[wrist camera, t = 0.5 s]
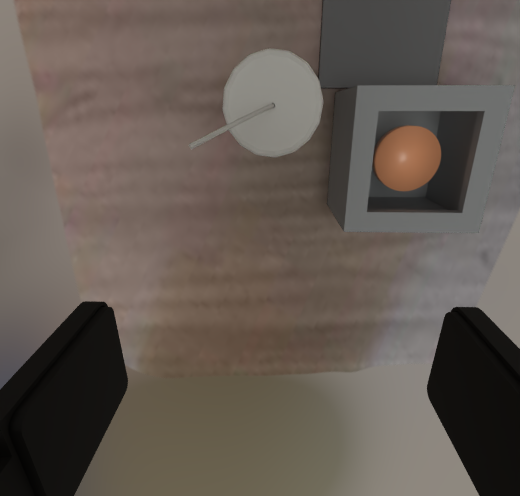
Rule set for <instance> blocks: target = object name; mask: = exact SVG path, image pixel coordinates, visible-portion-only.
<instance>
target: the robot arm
mask: <svg viewBox="0 0 520 496" xmlns="http://www.w3.org/2000/svg"><path fill="white" fill-rule="evenodd" d="M127 384H128V378H127V373H126V369H125V363H124V359H123V354H122V349H121V344H120V339H119V334H118V330H117V325H116V320H115V315H114V311H113V309H112V308H111V307H108V306H107V304H106V303H105V302H82V303H81V304H80V305H79V306H78V307H77V308H76V309H75V310H74V311H73V312H72V313H71V314H70V315H69V316H68V318H67V319H66V320H65V321H64V322H63V323H62V324H61V325H60V326H59V327H58V328H57V329H56V330H55V332H54V333H53V334H52V335H51V336H50V337H49V338H48V339H47V340H46V341H45V342H44V343H43V344H42V345H41V347H40V348H39V349H38V350H37V351H36V352H35V353H34V354H33V355H32V356H31V357H30V358H29V359H28V360H27V361H26V363H25V364H24V365H23V366H22V367H21V368H20V369H19V370H18V371H17V372H16V373H15V374H14V375H13V376H12V378H11V379H10V380H9V381H8V382H7V383H6V384H5V385H4V386H3V387H2V388H1V390H0V496H74V494H75V492H76V491H77V489H78V486H79V485H80V483H81V480H82V478H83V476H84V474H85V473H86V471H87V468H88V466H89V464H90V462H91V460H92V458H93V456H94V454H95V452H96V450H97V448H98V446H99V444H100V442H101V440H102V438H103V436H104V434H105V432H106V430H107V428H108V426H109V424H110V422H111V420H112V418H113V416H114V414H115V412H116V410H117V408H118V406H119V404H120V402H121V400H122V398H123V396H124V394H125V392H126V389H127ZM427 392H428V397H429V399H430V401H431V403H432V405H433V407H434V409H435V411H436V413H437V415H438V417H439V419H440V421H441V423H442V425H443V426H444V428H445V430H446V432H447V434H448V436H449V438H450V440H451V442H452V444H453V445H454V447H455V449H456V451H457V453H458V455H459V457H460V459H461V461H462V463H463V465H464V467H465V469H466V471H467V472H468V475H469V476H470V478H471V480H472V482H473V484H474V486H475V488H476V490H477V492H478V493H479V495H480V496H520V349H519V348H518V347H517V346H516V345H515V344H514V343H513V342H512V341H511V340H510V339H509V338H508V337H507V336H506V335H505V334H504V333H503V332H502V331H501V330H500V329H499V328H498V327H497V326H496V325H495V323H494V322H492V320H491V319H490V318H489V317H488V316H487V315H486V314H485V313H484V312H483V311H482V310H480V309H479V308H476V307H455V308H453V309H452V310H451V312H448V313H446V315H445V317H444V321H443V325H442V329H441V333H440V337H439V341H438V345H437V349H436V353H435V357H434V361H433V365H432V369H431V373H430V376H429V381H428V385H427Z"/></svg>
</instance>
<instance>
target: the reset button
mask: <svg viewBox="0 0 520 496" xmlns="http://www.w3.org/2000/svg"><path fill="white" fill-rule="evenodd" d="M440 160H441V147H440V144H439V141H438V139H437V138H436V136H435V135H434V134H433V133H432V132H431V131H429V130H428V129H426V128H423V127H420V126H411V125H405V126H399V127H396V128H394V129H392V130H390V131H388V132H387V133H386V134H384V135H383V136H382V137H381V138H380V140H379V141H378V143H377V144H376V146H375V148H374V154H373V163H372V168H373V171H374V174H375V176H376V177H377V179H378V180H379V181H380V182H381V183H383V184H384V185H386V186H387V187H389V188H391V189H393V190H397V191H411V190H414V189H417V188H419V187H421V186H423V185H424V184H426V183H427V182H428V181H429V180H430V179H431V178H432V177H433V176H434V174H435V173H436V171H437V169H438V167H439V164H440Z"/></svg>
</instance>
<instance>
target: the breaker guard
mask: <svg viewBox="0 0 520 496" xmlns="http://www.w3.org/2000/svg"><path fill="white" fill-rule="evenodd" d="M514 88H515V85H363V86H355V87H352V88H349V89H346V90H343V91H339V92H336V93H335V104H334V117H333V131H332V144H331V158H330V172H329V185H328V199H327V205H328V206H329V208H330V210H331V211H332V213H333V215H334V216H335V218H336V220H337V221H338V223H339V225H340V226H341V228H342V229H343V231H344V232H420V233H479V230H480V226H481V222H482V218H483V214H484V210H485V206H486V202H487V198H488V194H489V190H490V185H491V181H492V177H493V173H494V169H495V165H496V161H497V157H498V153H499V149H500V145H501V141H502V137H503V133H504V128H505V124H506V120H507V116H508V112H509V108H510V104H511V100H512V96H513V92H514ZM405 125H411V126H420V127H423V128H426V129H428V130H429V131H431V132H432V133H433V134H434V135H435V136H436V138H437V139H438V141H439V144H440V147H441V160H440V164H439V167H438V169H437V171H436V173H435V174H434V176H433V177H432V178H431V179H430V180H429V181H428V182H427V183H426V184H424V185H423V186H421V187H419V188H417V189H414V190H411V191H397V190H393V189H391V188H389V187H387V186H386V185H384V184H383V183H381V182H380V181H379V180H378V179H377V177H376V176H375V174H374V171H373V168H372V163H373V154H374V148H375V146H376V144H377V143H378V141H379V140H380V138H381V137H382V136H383V135H384V134H386V133H387V132H388V131H390V130H392V129H394V128H396V127H399V126H405Z"/></svg>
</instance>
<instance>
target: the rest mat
mask: <svg viewBox="0 0 520 496" xmlns="http://www.w3.org/2000/svg"><path fill="white" fill-rule="evenodd" d="M450 4H451V0H323V7H322V25H321V43H320V61H319V78H318V79H319V81H320V86H321V88H352V87H355V86H363V85H437V80H438V74H439V68H440V62H441V56H442V51H443V45H444V39H445V33H446V27H447V21H448V15H449V9H450Z"/></svg>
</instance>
